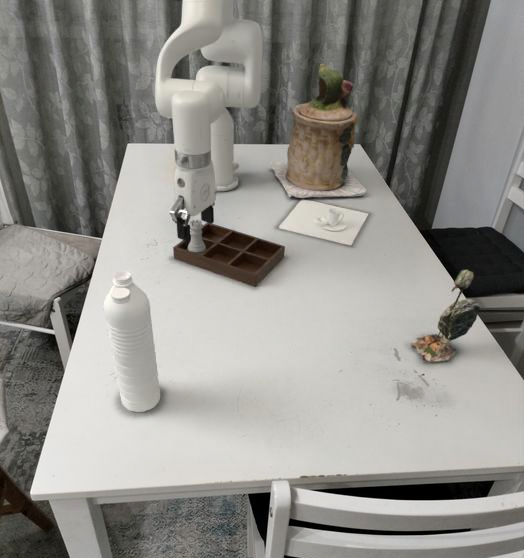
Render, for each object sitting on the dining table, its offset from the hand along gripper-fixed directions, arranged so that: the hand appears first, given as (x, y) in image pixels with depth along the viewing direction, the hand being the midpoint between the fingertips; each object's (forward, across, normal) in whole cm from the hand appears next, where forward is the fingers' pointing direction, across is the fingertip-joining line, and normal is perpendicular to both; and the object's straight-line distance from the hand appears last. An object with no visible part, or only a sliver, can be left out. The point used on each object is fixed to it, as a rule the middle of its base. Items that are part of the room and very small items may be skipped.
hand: (196, 230), depth 116 cm
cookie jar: (+8, +56, -7) cm, 57 cm away
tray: (+7, +3, -7) cm, 10 cm away
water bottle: (+6, -45, -18) cm, 49 cm away
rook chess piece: (+6, 0, 0) cm, 6 cm away
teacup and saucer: (+7, +34, -19) cm, 40 cm away
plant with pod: (+6, -4, -59) cm, 60 cm away
